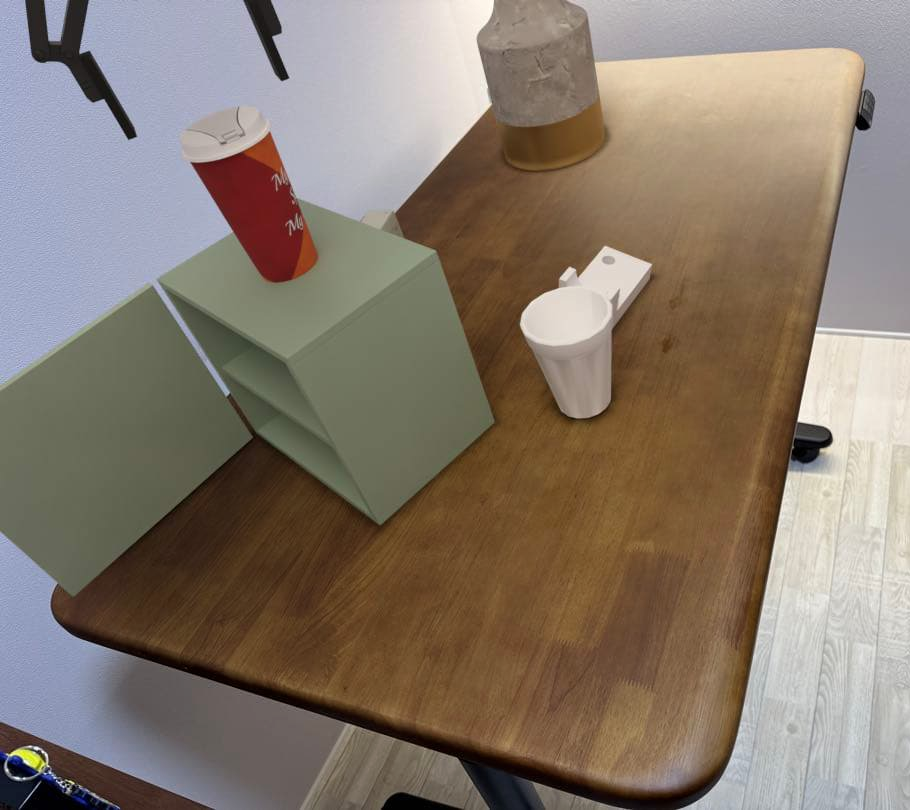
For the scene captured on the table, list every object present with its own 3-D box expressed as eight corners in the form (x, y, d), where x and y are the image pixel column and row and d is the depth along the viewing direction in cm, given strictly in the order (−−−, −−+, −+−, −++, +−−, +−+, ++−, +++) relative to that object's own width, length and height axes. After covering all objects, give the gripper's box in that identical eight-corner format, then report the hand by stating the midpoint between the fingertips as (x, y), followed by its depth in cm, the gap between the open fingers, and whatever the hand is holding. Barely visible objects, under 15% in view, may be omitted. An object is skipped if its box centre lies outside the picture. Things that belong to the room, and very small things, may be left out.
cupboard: (380, 525, 84) (286, 358, 67) (256, 433, 99) (155, 278, 82) (495, 422, 91) (436, 250, 75) (364, 351, 107) (291, 195, 90)
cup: (526, 414, 91) (500, 327, 83) (577, 363, 96) (558, 276, 87) (593, 444, 86) (573, 355, 77) (644, 389, 90) (631, 299, 82)
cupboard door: (43, 571, 88) (-117, 428, 72) (221, 421, 102) (118, 271, 86) (73, 597, 85) (-89, 452, 69) (253, 437, 98) (152, 284, 82)
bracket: (604, 343, 99) (610, 300, 93) (556, 322, 101) (559, 278, 95) (648, 284, 106) (656, 240, 100) (602, 265, 108) (607, 221, 102)
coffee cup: (341, 261, 77) (276, 116, 67) (265, 300, 75) (186, 156, 65) (311, 232, 83) (247, 95, 73) (240, 268, 80) (163, 130, 70)
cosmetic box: (395, 279, 118) (367, 208, 110) (421, 279, 117) (394, 207, 109) (378, 305, 114) (348, 234, 106) (405, 306, 113) (376, 233, 104)
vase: (616, 118, 143) (590, -68, 122) (590, 169, 131) (557, -28, 110) (523, 123, 149) (484, -53, 128) (490, 172, 137) (442, -13, 117)
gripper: (-147, -141, 48) (65, 174, 62) (240, -250, 53) (353, 63, 67) (-129, -147, 53) (63, 145, 67) (222, -246, 58) (330, 44, 73)
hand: (208, 104), depth 67 cm, fingers open, 13 cm apart
